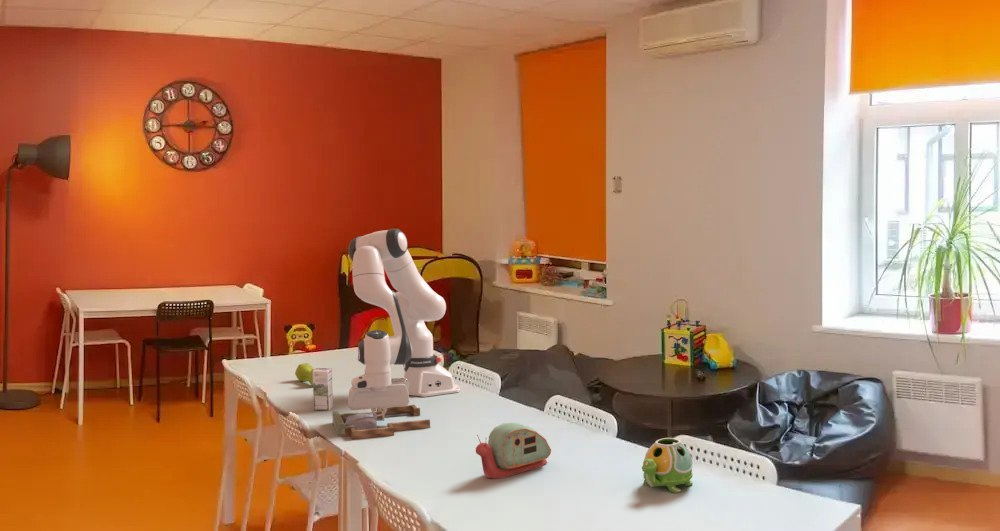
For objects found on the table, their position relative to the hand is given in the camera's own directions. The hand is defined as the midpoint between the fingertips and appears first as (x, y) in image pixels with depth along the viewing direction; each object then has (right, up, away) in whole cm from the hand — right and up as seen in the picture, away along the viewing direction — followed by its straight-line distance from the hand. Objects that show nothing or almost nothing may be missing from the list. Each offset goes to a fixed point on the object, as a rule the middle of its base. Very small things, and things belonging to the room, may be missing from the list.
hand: (379, 420), depth 301 cm
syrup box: (-23, 0, +24) cm, 33 cm away
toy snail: (+44, -6, -49) cm, 66 cm away
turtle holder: (+84, -7, -63) cm, 105 cm away
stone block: (-6, -3, -1) cm, 7 cm away
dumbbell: (-36, +4, +64) cm, 74 cm away
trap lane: (0, -2, 0) cm, 2 cm away
